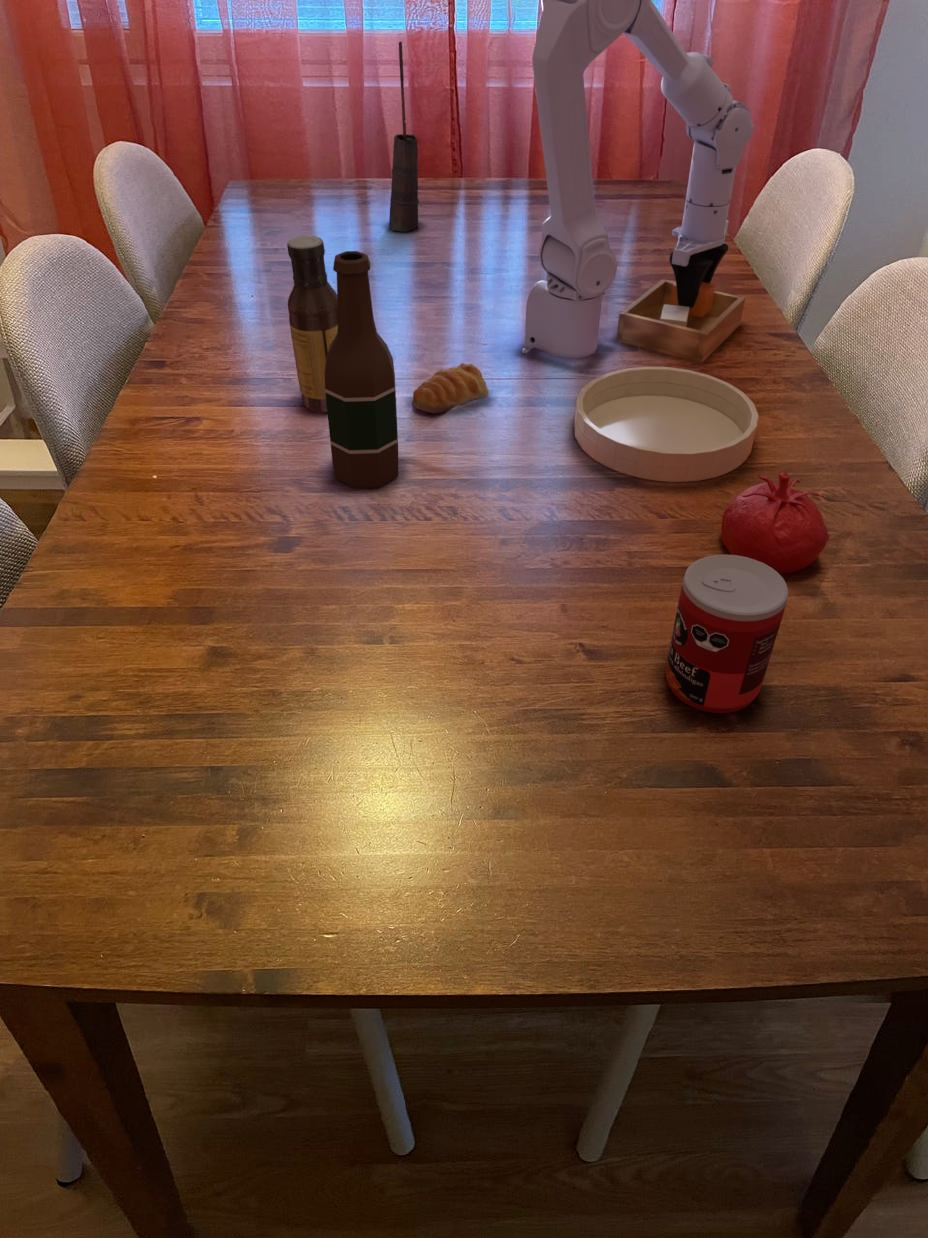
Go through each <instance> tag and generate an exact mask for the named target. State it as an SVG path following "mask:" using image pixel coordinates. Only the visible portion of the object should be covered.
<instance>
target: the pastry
mask: <svg viewBox="0 0 928 1238" xmlns="http://www.w3.org/2000/svg"><path fill="white" fill-rule="evenodd" d="M487 396H489V389H488V386H487V383H486V381H485V379H484V377H483V374H482V372H481V370H480V369H479V368H478V367H477V366H475V365H474V364H472V363H468V364H467V363H463V362H462V363H460V364H459V365H457V366H455V367H450V368H446V369H440V370H439V371H436V372H435V373H434V375H432V376H431V377H430V378H428V379H427V380H426V381H424V382H422V384H420V385H419V386H418V387H417V388H416V389H415V390H414V391H413V393H412V403H411V404H412V406H414V407H415V408H416V409H419V410H421V411H424V412H427V413H431V414H434V415H435V414H436V413H437V414H443V413H445V412H450V411H451V410H452V409H453V408H455V407H457V406H462V405H464V404H467V403H469V402H473V401H475V400H478V399H481V398H485V397H487Z"/></svg>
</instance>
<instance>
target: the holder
mask: <svg viewBox="0 0 928 1238" xmlns="http://www.w3.org/2000/svg"><path fill="white" fill-rule="evenodd" d="M675 283H676V281H673V280H670V279H669V280H668V279H665V278H662V279H661V280H659V281H657V283H656V284H654V286H652V287H651V288H649V289H648V290H647V291H646V292H644V293H643V294H642V295H640V296H639V297H638V298H637V299H636V300H634V301H633V302H632V303H630V304H629V305H628V306H627V307H625V308H624V309H623V310H622V311H620V312H619V314H618V321H617V322H618V323H617V330H616V331H617V332H616V339H615V341H616V342H619V343H623V344H626V345H631V346H634V347H638V348H641V349H646V350H648V351H649V350H650V351H653V352H657V353H661V354H665V355H668V356H671V357H672V356H673V357H677V358H680V359H685V360H688V361H691V362H696V363H700V364H703V363H704V362H705V361H706V360H707V359H708V358H709V357H710V356H711V355H712V354H713V353H714V352H715V351H716V350H717V349H718V348H719V347H721V345H722V344H723V343H724V342H725V341H726V340H727V339H728V338H729V337H730V336H731V335H732V334H733V333H734V332H735V331H736V330H737V329H738V328H739V327H740V326H741V322H742V319H743V312H744V308H745V307H744V306H745V302H746V297H744V296H740V295H736V294H732V293H726V292H722V291H719V290H714V296H713V302H712V307H711V309H710V310H709V311H708V312H707V313H706V314H705V315H704V316H703V317H699V316H695V315H690V314H688V320H687V327H684V326H679V325H675V324H671V323H667V322H663V321H660V318H661V315H662V311H663V307H664V304H666V305H670V300H671V293H672V286H673V285H674V284H675Z"/></svg>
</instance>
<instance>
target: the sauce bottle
mask: <svg viewBox="0 0 928 1238" xmlns="http://www.w3.org/2000/svg"><path fill="white" fill-rule="evenodd" d="M286 244H287V245H286V246H287V253H288V257H289V259H290V262H291V271H292V279H293V286H292V289H291V291H290V294H289V296H288V298H287V311H288V321H289V328H290V336H291V343H292V349H293V355H294V361H295V362H294V363H295V367H296V368H295V369H296V374H297V380H298V385H299V386H298V387H299V392H300V393H301V401H302V404H303V406H304V407H305V408H307V409H308V410H309V411H312V412H314V413H319V414H322V413H323V414H327V404H326V394H325V365H326V358H327V354H328V350H329V346H330V345H331V343H332V341H333V340H334V338H335V336H336V335H337V331H338V305H337V291H336V290H335V289H334V288H333V286H332V285H331V284H330V282H329V281H328V274H327V271H326V262H325V253H326V249H325V243H324V240H323V239H322V238H321V237H320V236H316V235H300V236H296V237H293V238H292V239H289V240H288V242H287V243H286Z"/></svg>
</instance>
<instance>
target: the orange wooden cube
mask: <svg viewBox="0 0 928 1238" xmlns="http://www.w3.org/2000/svg"><path fill="white" fill-rule="evenodd" d="M714 291H716V284H715V283H711V282H710V283H706V282H702V283H701V286H700V290H699V293H698V296H697V299H696V302H695V304H694V306H693V307H692V308H689V314H690V315H695V316H699V317H703V316H704V315H705V314H706V313H707V312H708V311H709V310H710V309H711V307H712V302H713V296H714ZM670 305H676V306H680V305H678V298H677V287H676V283H675V284H674V285H673V286H672V293H671V300H670Z"/></svg>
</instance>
